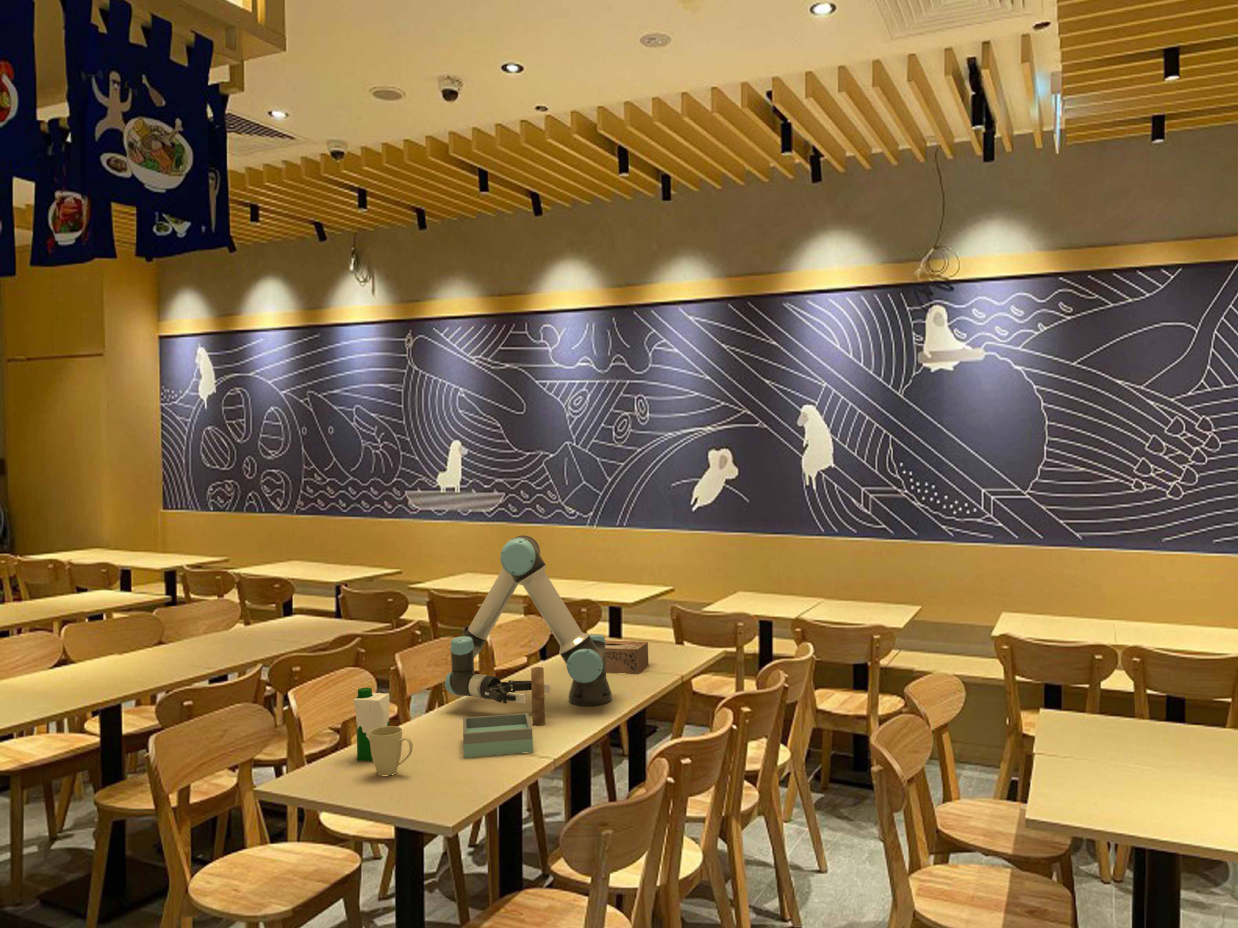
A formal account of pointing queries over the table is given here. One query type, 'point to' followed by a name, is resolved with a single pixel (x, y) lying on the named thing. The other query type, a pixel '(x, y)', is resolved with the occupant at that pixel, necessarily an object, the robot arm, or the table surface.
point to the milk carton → (369, 718)
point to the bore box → (497, 735)
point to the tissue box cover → (626, 656)
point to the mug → (387, 748)
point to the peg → (538, 696)
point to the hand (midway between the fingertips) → (537, 693)
